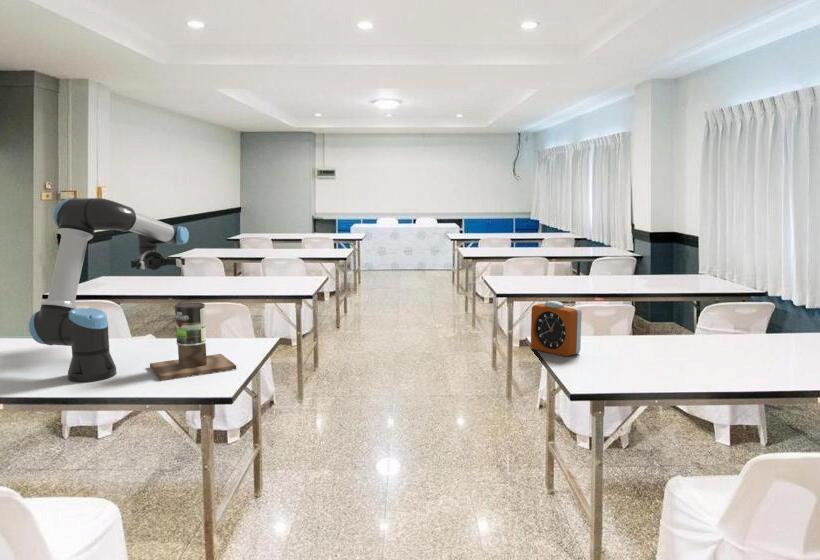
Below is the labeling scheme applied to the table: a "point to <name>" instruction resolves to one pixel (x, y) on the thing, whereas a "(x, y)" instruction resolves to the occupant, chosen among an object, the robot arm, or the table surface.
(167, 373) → the plinth
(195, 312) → the lidded glass jar
